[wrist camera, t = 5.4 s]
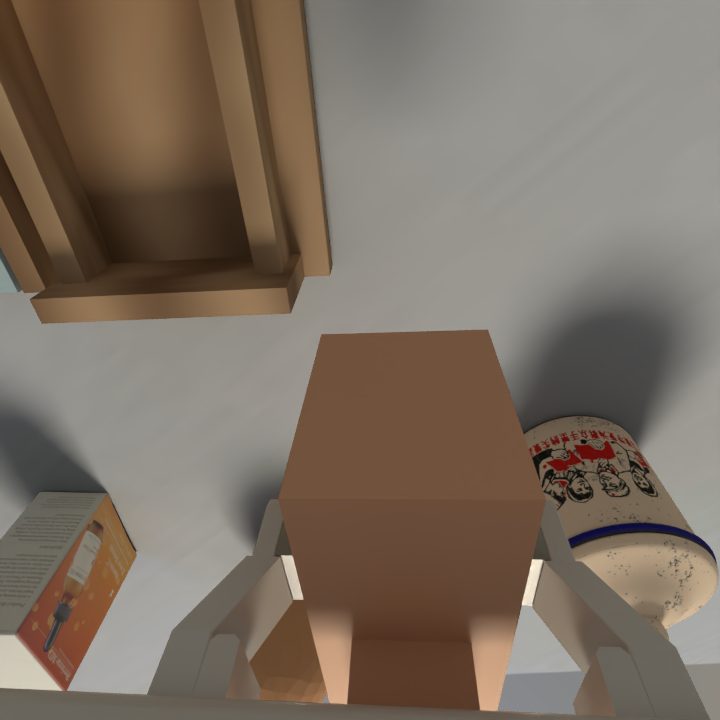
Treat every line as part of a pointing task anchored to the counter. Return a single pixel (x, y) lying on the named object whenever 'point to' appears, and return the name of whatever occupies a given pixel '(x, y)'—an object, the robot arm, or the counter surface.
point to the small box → (57, 586)
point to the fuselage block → (411, 518)
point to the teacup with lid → (622, 518)
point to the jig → (159, 157)
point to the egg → (290, 660)
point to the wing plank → (7, 277)
